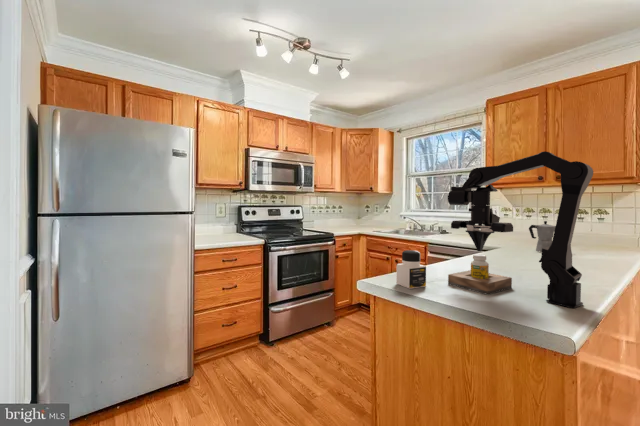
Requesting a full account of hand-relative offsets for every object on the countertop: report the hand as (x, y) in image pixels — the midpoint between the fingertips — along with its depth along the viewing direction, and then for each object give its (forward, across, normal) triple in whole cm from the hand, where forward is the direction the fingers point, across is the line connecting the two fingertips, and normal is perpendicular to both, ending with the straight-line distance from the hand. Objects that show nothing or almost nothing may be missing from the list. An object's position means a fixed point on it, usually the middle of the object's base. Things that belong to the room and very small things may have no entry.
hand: (479, 251), depth 103 cm
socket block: (+12, 0, 0) cm, 12 cm away
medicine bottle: (+12, +13, +19) cm, 26 cm away
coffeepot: (+12, +25, -108) cm, 112 cm away
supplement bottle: (+11, 0, 0) cm, 11 cm away
